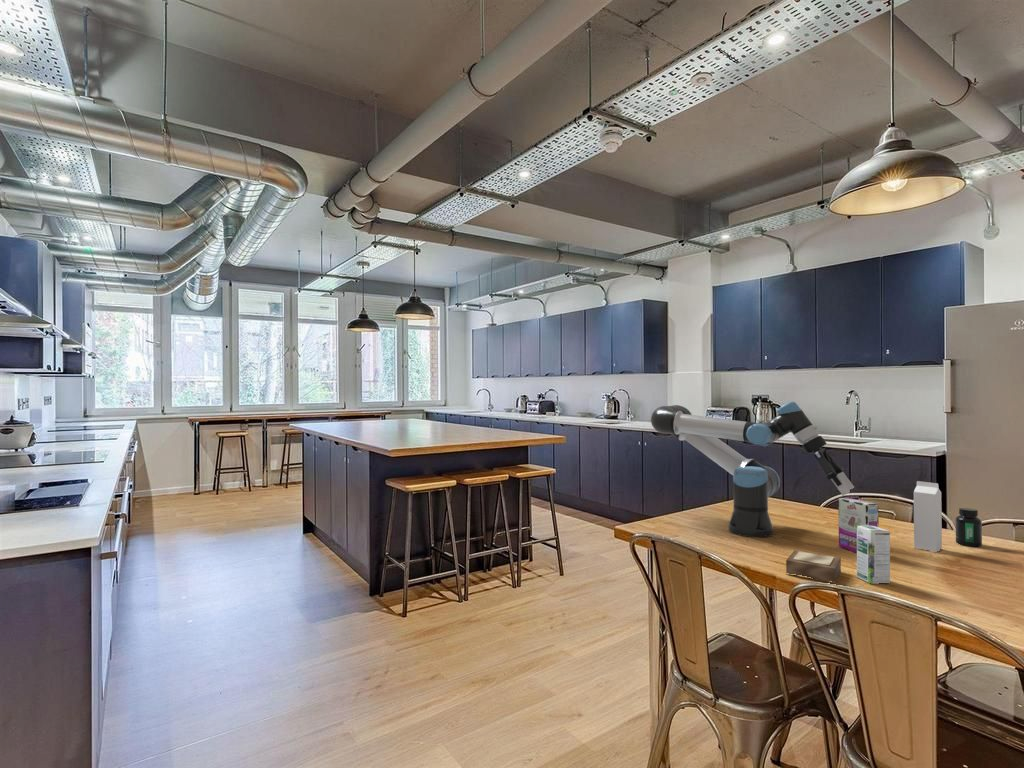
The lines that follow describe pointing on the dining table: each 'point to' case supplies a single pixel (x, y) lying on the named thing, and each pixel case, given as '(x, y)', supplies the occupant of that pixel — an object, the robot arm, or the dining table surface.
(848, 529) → the candy bar box
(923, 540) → the milk
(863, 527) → the syrup box
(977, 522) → the supplement bottle
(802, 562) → the plinth
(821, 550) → the dining table surface
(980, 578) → the dining table surface
